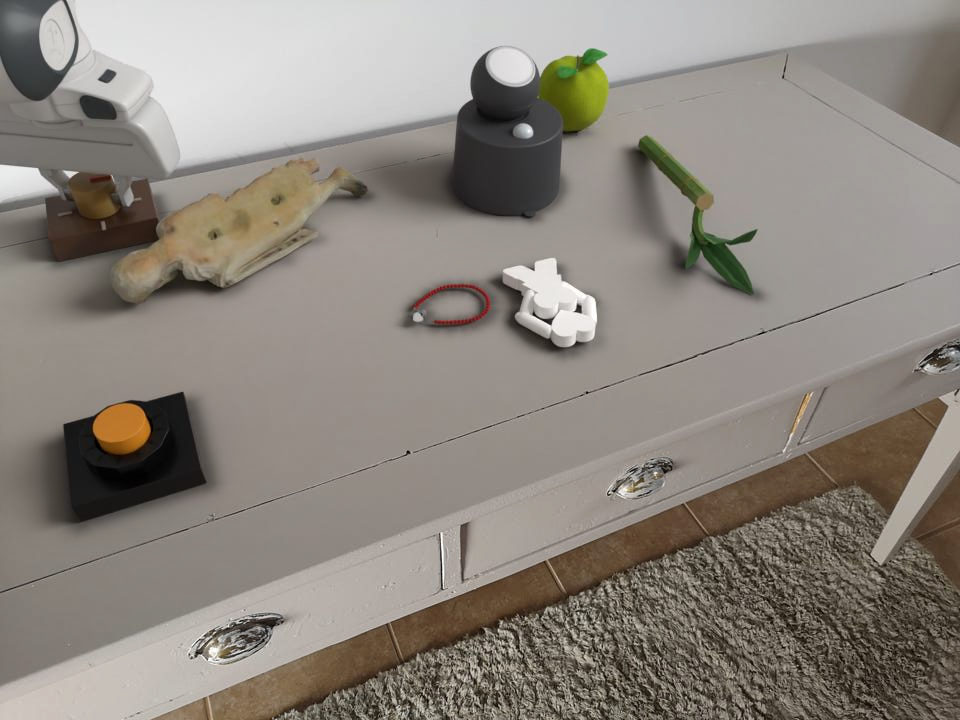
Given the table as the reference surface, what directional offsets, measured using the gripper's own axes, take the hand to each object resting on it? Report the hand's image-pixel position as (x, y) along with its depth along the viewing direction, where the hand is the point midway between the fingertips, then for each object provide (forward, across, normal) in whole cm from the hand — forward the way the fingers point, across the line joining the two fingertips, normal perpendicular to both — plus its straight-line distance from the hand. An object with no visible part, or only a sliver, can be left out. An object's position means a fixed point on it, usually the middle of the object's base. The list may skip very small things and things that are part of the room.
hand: (99, 200), depth 85 cm
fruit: (+4, +51, +31) cm, 60 cm away
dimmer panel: (+4, 0, 0) cm, 4 cm away
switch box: (+4, +16, -30) cm, 34 cm away
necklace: (+4, +40, -8) cm, 41 cm away
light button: (0, +16, -30) cm, 34 cm away
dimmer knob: (+1, 0, 0) cm, 1 cm away
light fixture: (+4, +44, +16) cm, 47 cm away
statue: (+4, +17, -1) cm, 17 cm away
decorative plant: (+4, +65, +13) cm, 66 cm away
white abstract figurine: (+4, +50, -6) cm, 51 cm away
